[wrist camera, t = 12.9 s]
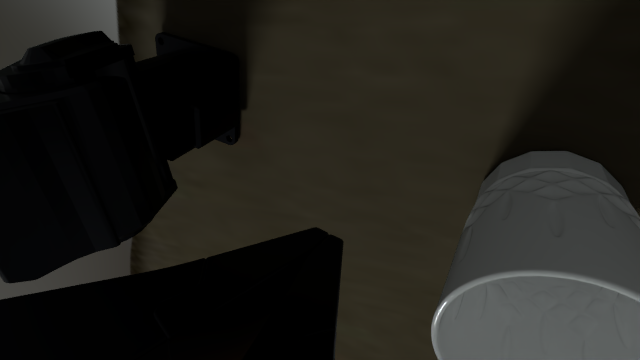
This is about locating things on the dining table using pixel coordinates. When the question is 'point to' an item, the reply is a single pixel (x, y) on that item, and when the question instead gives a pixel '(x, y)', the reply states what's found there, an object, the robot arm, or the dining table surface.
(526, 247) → the white cup
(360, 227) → the dining table surface
